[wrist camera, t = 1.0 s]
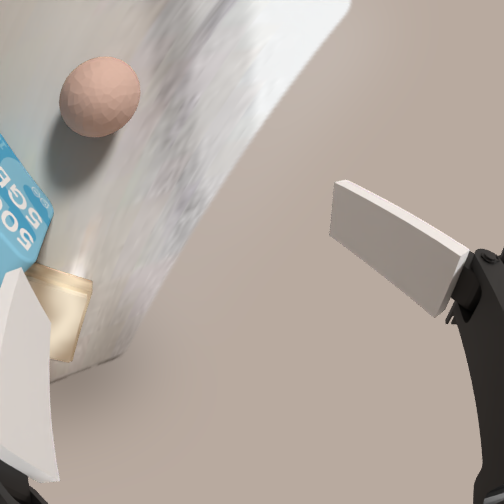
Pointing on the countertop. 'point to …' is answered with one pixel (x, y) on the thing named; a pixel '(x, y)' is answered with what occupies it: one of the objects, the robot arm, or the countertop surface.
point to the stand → (61, 306)
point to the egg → (99, 97)
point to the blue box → (20, 214)
